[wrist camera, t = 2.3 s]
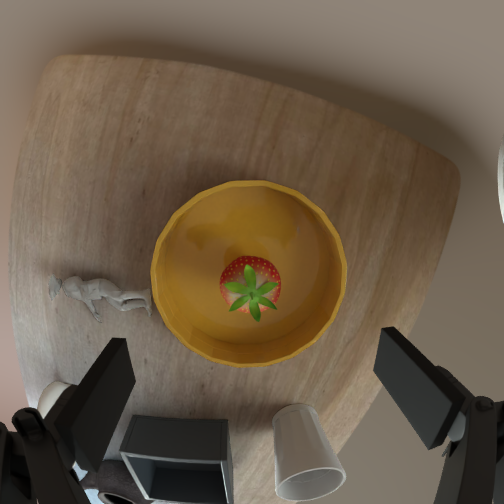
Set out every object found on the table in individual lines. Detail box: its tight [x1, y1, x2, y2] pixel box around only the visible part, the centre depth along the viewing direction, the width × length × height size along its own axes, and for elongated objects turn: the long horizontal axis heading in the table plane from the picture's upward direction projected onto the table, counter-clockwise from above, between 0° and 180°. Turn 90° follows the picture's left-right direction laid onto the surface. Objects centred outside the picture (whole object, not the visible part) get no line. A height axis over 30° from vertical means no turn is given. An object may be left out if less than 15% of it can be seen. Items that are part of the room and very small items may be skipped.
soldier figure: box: [49, 273, 152, 323], centre depth 28 cm, size 8×5×12 cm
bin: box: [119, 415, 234, 504], centre depth 32 cm, size 14×14×8 cm
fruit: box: [220, 256, 281, 322], centre depth 26 cm, size 5×5×8 cm
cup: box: [272, 404, 346, 501], centre depth 30 cm, size 8×8×12 cm
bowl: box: [150, 180, 347, 368], centre depth 28 cm, size 18×18×4 cm
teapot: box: [80, 460, 154, 504], centre depth 33 cm, size 19×15×10 cm
